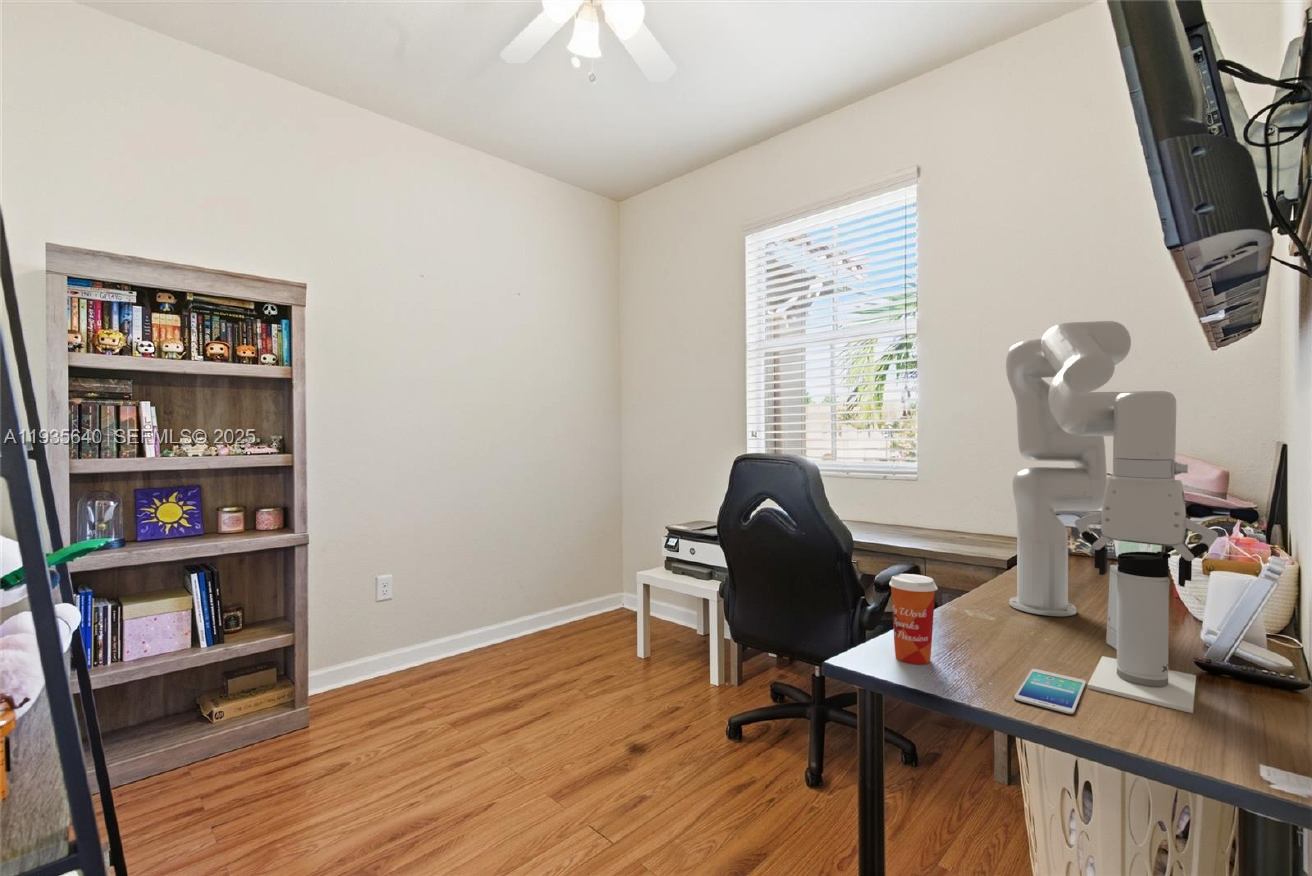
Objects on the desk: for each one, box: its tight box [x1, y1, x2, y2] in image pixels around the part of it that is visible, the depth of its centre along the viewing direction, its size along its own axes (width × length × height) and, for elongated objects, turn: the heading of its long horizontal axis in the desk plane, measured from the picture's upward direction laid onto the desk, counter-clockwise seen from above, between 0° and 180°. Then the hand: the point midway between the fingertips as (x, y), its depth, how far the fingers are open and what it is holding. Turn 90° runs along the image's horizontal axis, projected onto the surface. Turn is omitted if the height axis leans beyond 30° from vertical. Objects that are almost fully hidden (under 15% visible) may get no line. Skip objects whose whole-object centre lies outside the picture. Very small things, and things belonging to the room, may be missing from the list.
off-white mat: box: [1087, 655, 1197, 714], centre depth 93 cm, size 16×12×1 cm
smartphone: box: [1013, 668, 1087, 717], centre depth 90 cm, size 8×1×15 cm
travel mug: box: [1116, 551, 1172, 687], centre depth 93 cm, size 6×7×20 cm
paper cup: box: [888, 573, 938, 666], centre depth 103 cm, size 8×8×14 cm
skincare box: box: [1105, 564, 1170, 651], centre depth 106 cm, size 8×6×15 cm
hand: (1141, 578), depth 93 cm, fingers open, 9 cm apart
